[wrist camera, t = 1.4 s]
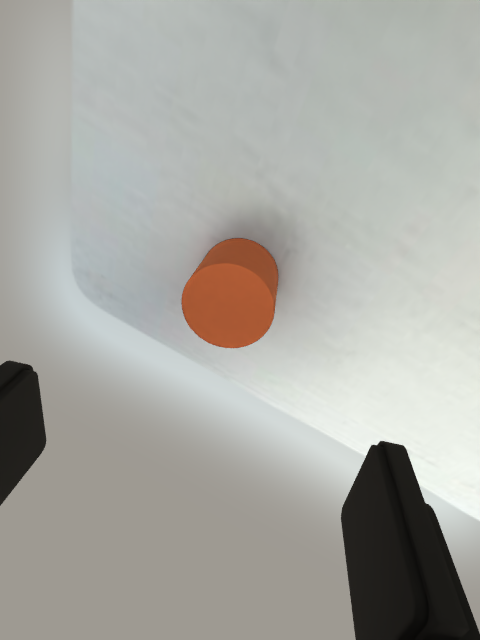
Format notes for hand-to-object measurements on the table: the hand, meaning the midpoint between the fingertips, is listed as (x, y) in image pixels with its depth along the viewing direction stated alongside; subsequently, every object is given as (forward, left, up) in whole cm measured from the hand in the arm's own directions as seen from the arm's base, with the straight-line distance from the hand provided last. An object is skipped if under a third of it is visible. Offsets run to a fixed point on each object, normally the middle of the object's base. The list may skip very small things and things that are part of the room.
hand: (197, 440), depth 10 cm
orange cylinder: (-1, -1, -16) cm, 16 cm away
